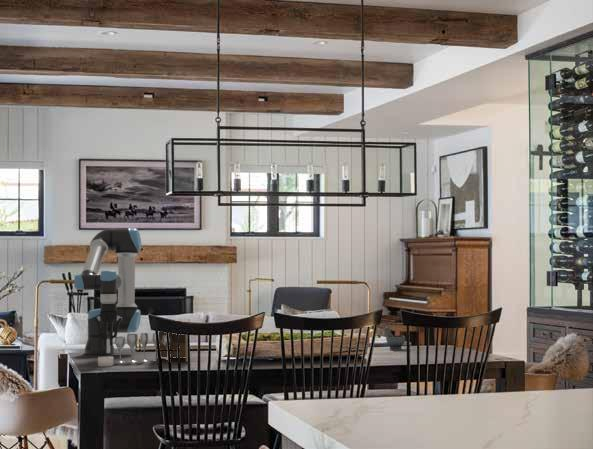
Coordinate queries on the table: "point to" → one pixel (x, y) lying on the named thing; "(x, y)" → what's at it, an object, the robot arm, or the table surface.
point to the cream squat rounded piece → (105, 361)
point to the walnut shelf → (175, 344)
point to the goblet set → (133, 340)
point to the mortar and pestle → (394, 340)
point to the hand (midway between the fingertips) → (108, 352)
